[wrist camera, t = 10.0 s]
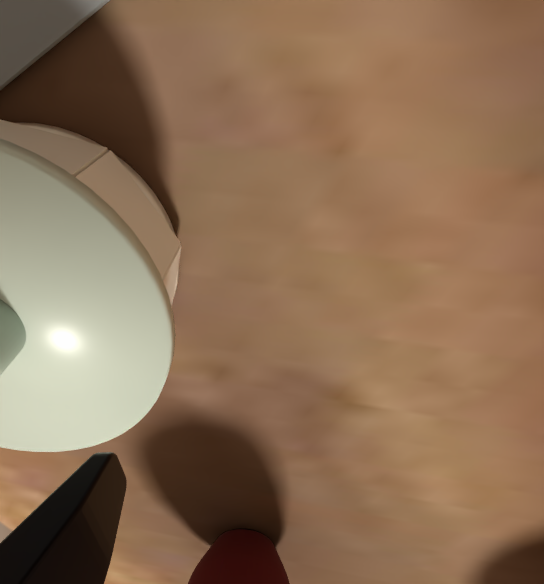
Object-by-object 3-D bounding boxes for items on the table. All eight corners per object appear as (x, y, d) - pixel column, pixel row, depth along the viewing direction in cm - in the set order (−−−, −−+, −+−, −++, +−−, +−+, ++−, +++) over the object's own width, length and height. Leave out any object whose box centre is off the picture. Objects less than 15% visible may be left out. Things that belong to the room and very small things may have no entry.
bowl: (58, 64, 17) (-26, 86, 13) (227, 291, 22) (207, 363, 17) (-120, 205, 21) (-231, 259, 16) (58, 374, 25) (7, 450, 21)
